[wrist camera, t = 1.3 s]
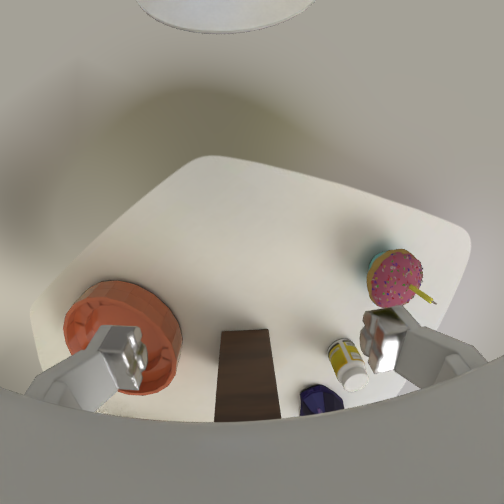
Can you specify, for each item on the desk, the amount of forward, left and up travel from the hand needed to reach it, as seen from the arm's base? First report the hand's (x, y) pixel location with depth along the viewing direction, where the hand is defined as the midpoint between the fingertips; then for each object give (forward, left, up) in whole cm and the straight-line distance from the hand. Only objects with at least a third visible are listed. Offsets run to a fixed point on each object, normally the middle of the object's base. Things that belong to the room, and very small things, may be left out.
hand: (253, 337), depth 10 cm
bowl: (+2, -27, -28) cm, 39 cm away
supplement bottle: (+28, -4, -28) cm, 40 cm away
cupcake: (+20, +9, -28) cm, 35 cm away
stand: (+17, -15, -28) cm, 36 cm away
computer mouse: (+38, -15, -28) cm, 50 cm away
